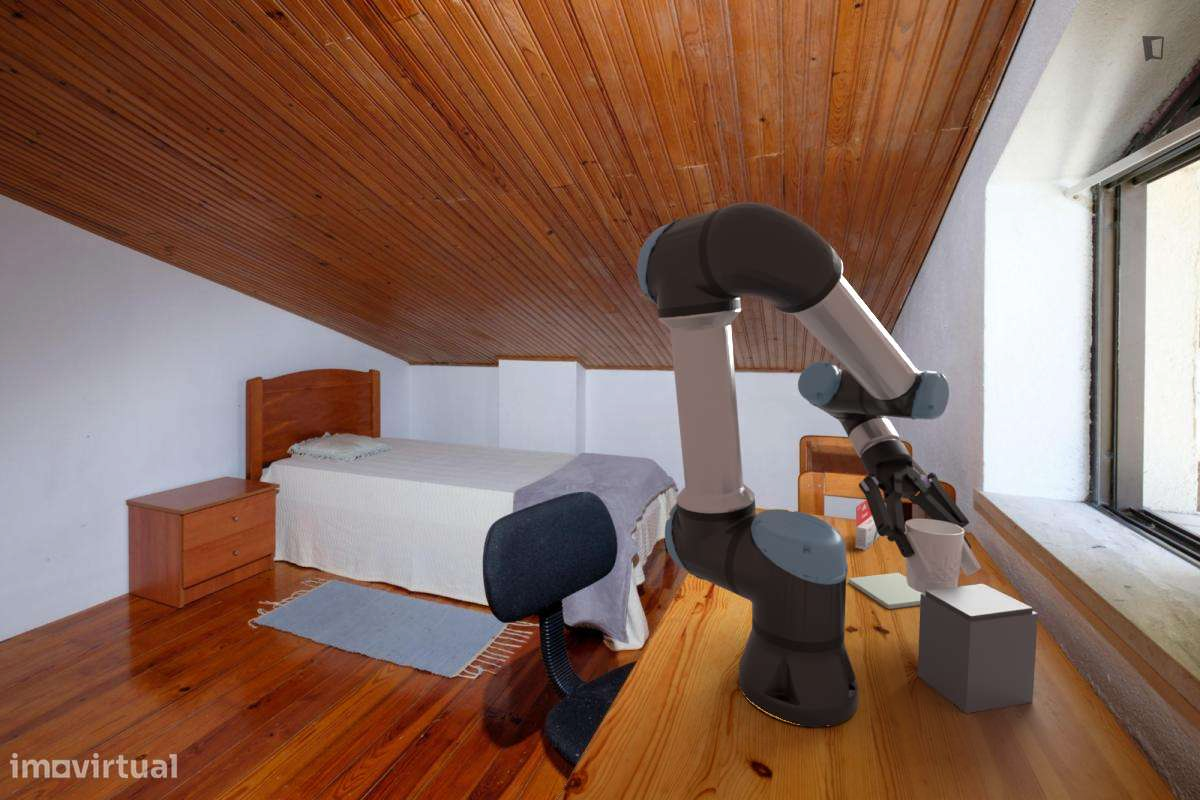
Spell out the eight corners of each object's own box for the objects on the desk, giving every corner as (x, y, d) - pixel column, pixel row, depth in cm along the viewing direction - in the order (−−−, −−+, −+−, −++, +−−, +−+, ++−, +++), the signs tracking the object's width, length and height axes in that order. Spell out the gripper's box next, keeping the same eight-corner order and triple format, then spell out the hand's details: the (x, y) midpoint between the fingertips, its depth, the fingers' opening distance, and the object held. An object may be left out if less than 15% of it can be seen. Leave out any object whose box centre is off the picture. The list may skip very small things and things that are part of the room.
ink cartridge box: (881, 537, 129) (882, 497, 128) (866, 551, 121) (867, 508, 120) (869, 535, 130) (870, 495, 129) (854, 548, 122) (855, 506, 121)
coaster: (888, 609, 94) (888, 604, 94) (848, 582, 105) (848, 578, 105) (943, 602, 96) (943, 597, 96) (898, 576, 107) (898, 572, 107)
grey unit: (966, 713, 68) (970, 618, 66) (917, 675, 76) (920, 589, 74) (1036, 701, 70) (1042, 608, 68) (981, 665, 78) (986, 581, 76)
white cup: (911, 573, 91) (913, 515, 90) (966, 587, 85) (969, 526, 85) (895, 587, 86) (898, 526, 85) (953, 604, 80) (957, 538, 79)
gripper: (918, 459, 101) (990, 578, 87) (818, 464, 97) (876, 589, 83) (943, 435, 95) (1024, 558, 81) (838, 439, 91) (904, 569, 77)
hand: (949, 573), depth 82 cm, fingers closed on white cup, 8 cm apart
